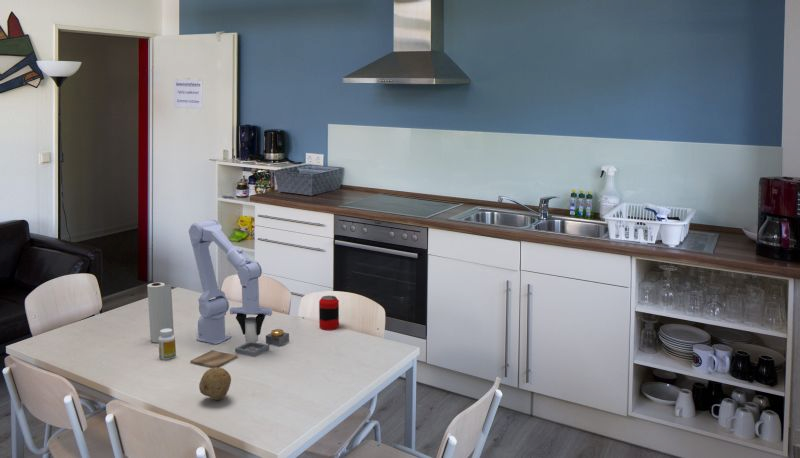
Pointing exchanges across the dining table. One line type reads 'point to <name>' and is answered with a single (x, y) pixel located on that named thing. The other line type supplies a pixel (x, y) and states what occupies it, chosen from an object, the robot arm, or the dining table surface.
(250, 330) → the cylinder
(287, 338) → the plunger base
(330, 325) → the soda can
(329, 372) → the dining table surface
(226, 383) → the potato
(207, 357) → the pad
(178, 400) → the dining table surface
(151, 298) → the paper towel roll
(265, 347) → the collar
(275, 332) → the plunger
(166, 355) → the supplement bottle
